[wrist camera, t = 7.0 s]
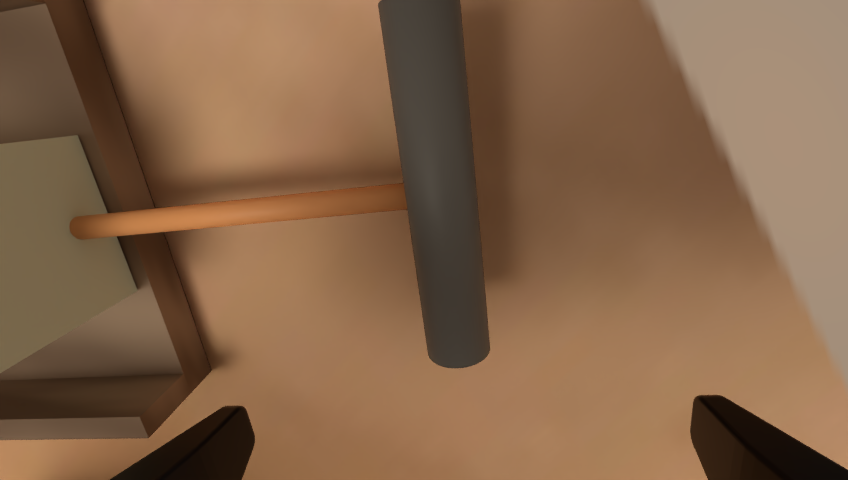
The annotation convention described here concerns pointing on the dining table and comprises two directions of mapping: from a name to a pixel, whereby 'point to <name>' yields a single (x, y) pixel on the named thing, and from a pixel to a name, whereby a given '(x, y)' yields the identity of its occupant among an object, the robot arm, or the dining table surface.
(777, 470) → the robot arm
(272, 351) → the dining table surface
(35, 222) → the corded block
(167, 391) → the brown wooden tray
